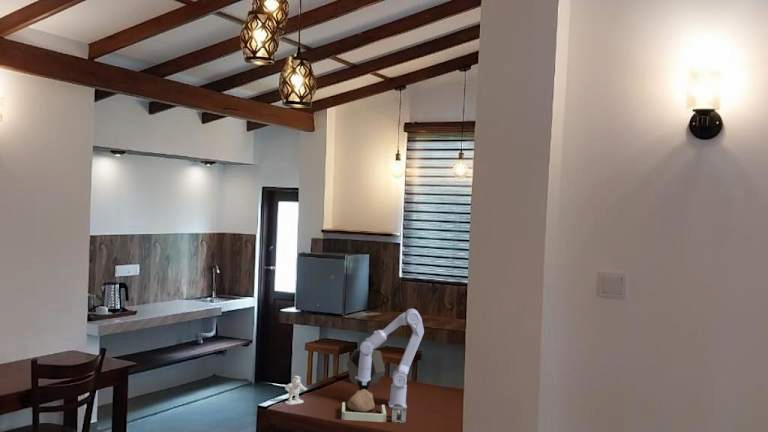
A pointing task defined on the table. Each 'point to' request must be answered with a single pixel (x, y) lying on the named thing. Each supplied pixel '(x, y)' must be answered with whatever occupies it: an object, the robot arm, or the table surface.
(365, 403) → the stone
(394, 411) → the axle mount
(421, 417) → the table surface
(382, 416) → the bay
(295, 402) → the figurine
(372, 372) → the planter
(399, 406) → the wheel
